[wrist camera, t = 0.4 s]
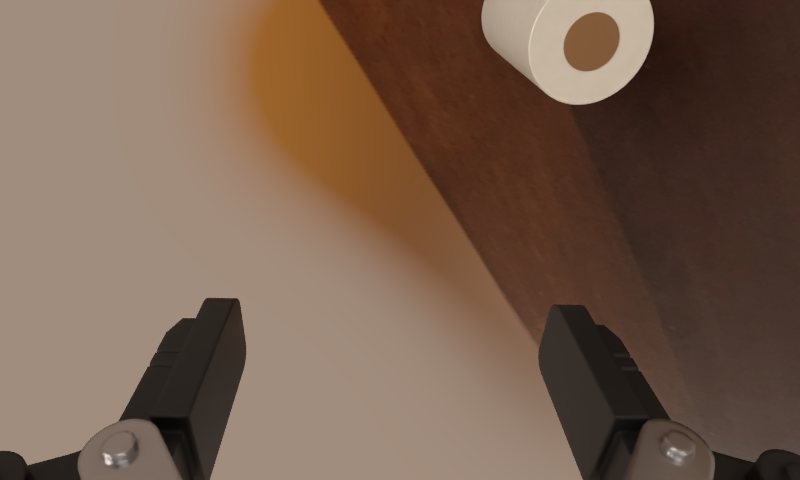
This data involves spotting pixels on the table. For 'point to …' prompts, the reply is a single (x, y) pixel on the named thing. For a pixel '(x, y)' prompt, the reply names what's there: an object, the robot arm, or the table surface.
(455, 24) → the table surface
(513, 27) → the paper roll
